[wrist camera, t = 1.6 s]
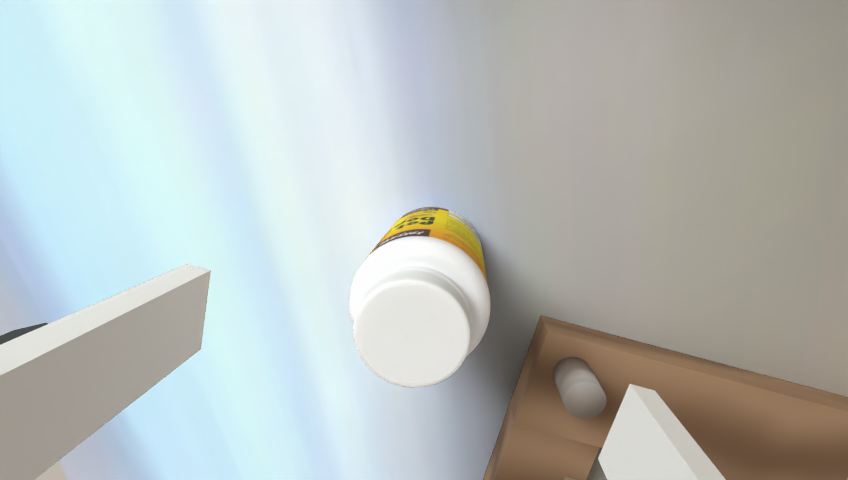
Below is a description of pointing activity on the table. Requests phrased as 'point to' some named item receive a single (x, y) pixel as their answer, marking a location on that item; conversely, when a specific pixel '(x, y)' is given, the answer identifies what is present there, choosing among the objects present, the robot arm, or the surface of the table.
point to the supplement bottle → (421, 299)
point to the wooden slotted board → (683, 394)
